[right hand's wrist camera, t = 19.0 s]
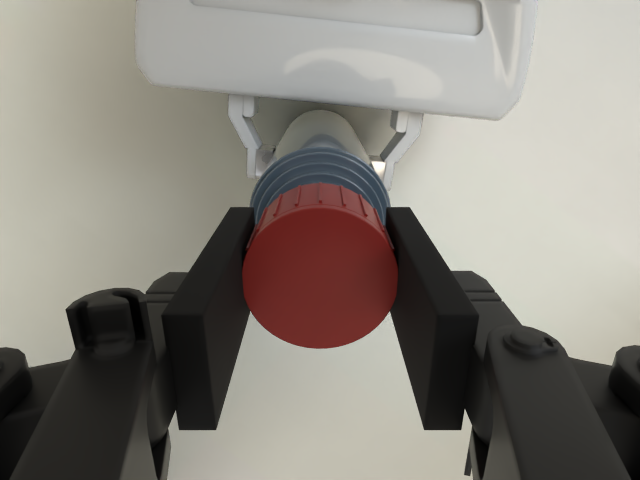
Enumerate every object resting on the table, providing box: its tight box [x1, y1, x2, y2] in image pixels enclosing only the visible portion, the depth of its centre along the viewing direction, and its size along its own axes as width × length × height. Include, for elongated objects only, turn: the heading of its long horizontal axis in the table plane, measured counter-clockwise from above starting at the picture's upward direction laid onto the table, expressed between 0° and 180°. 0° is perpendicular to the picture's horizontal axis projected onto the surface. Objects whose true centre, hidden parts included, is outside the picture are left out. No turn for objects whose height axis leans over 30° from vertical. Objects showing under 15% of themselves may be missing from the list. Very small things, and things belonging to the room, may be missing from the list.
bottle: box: [249, 110, 391, 225], centre depth 22 cm, size 6×6×21 cm
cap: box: [242, 182, 398, 349], centre depth 13 cm, size 4×4×3 cm
